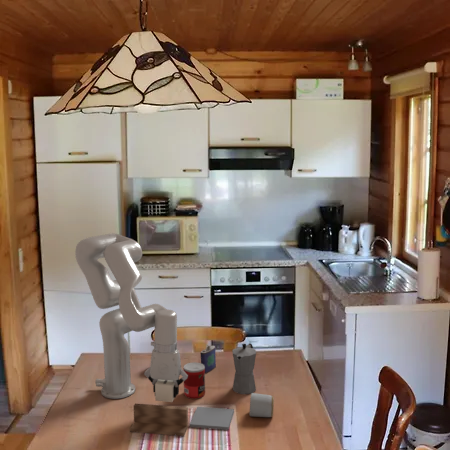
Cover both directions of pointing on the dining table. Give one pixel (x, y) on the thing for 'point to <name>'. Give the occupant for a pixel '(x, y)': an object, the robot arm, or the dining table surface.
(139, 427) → the walnut screen
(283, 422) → the dining table surface
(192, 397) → the canned food
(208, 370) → the flask
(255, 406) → the ceramic mug
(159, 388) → the marked cube
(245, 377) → the coffeepot
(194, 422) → the slate mat
